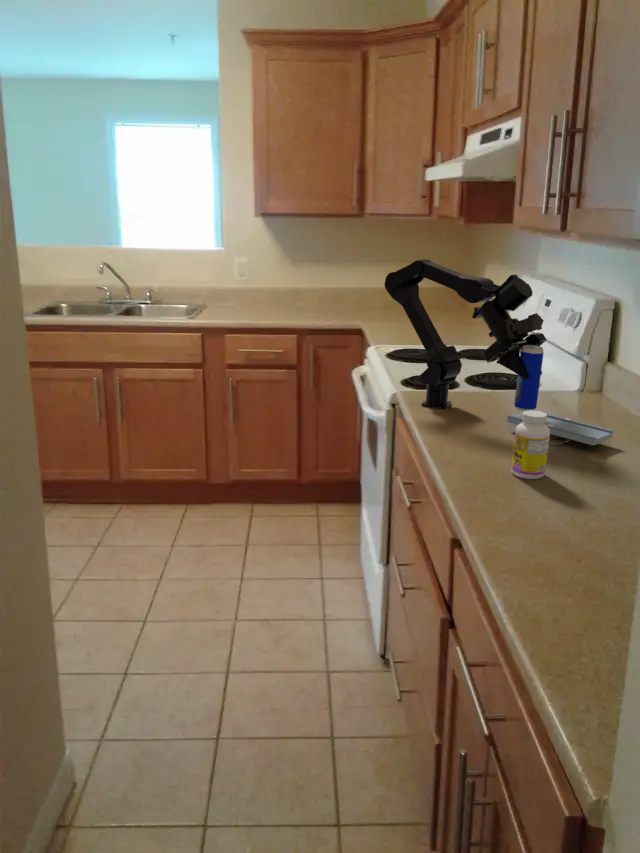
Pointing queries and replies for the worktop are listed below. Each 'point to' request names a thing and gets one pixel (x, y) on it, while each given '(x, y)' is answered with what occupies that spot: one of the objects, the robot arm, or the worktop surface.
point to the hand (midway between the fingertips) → (534, 376)
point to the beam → (571, 429)
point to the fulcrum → (557, 439)
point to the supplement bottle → (531, 446)
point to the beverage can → (529, 387)
